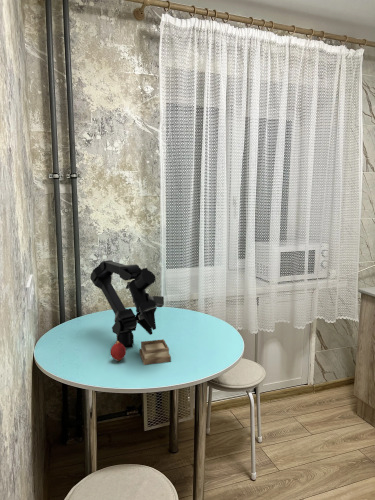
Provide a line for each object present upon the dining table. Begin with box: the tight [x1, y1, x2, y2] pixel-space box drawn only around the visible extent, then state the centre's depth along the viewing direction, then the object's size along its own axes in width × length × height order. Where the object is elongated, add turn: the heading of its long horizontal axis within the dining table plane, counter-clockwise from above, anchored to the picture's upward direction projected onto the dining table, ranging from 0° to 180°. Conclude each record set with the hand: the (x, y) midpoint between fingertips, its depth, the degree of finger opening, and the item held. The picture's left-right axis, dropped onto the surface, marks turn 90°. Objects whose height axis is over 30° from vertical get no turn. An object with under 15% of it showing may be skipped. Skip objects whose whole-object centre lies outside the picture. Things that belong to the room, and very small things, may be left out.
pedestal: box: [138, 338, 172, 366], centre depth 146 cm, size 10×10×5 cm
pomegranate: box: [109, 340, 127, 362], centre depth 143 cm, size 6×6×8 cm
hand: (153, 332), depth 142 cm, fingers open, 9 cm apart
